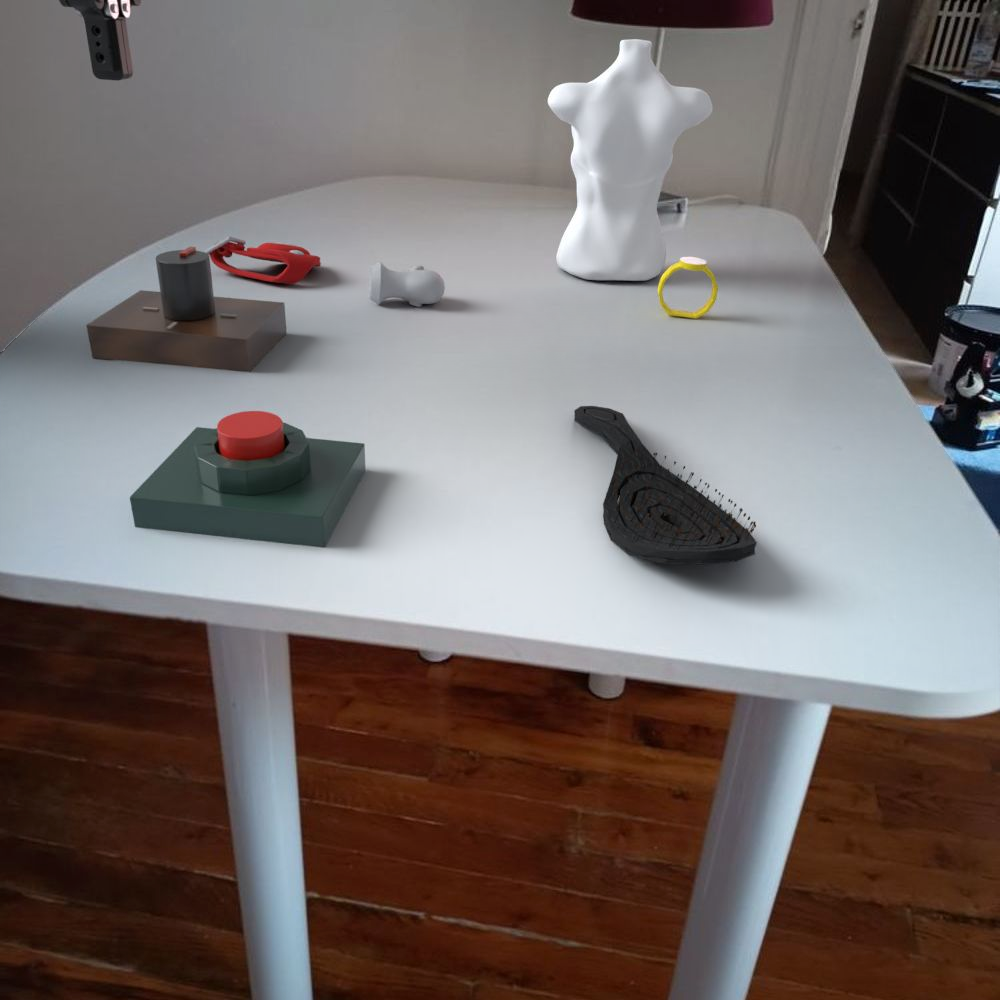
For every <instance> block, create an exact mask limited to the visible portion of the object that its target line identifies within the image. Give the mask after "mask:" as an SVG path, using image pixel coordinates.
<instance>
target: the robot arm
mask: <svg viewBox="0 0 1000 1000" xmlns="http://www.w3.org/2000/svg"><path fill="white" fill-rule="evenodd" d="M58 1H59V3H60V5H61V6H62V7H64V8H72V9H74V10H75V13H76V15H77V16H78V17H81V18H83V20H84V21H83V22H84V27H85V34H86V39H87V45H88V53H89V58H90V64H91V70H92V74H93V76H94V77H95V78H96V79H98V80H104V81H105V80H106V81H122V80H123V81H124V80H129V79H131V78H132V77H133V75H134V69H133V61H132V54H131V48H130V47H131V46H130V41H129V40H130V39H129V33H128V27H127V21H126V19H128V18H130V16H131V12H132V11H131V10H132V9H131V8H132V7H140V6H141V3H142V0H58Z"/></svg>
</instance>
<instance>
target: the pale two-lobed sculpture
mask: <svg viewBox="0 0 1000 1000" xmlns="http://www.w3.org/2000/svg"><path fill="white" fill-rule="evenodd" d="M368 279H369V280H368V296H369V297H368V298H369V300H371V301H372V302H374V303H375V304H376V305H380V304H381V303H383V301H385V300H387V299H391V298H395V299H401V300H403V301H406V302H408V303H409V305H411V306H414V307H417V308H421V307H422V305H433V304H435V303H438V302H439V301H440V300H441V299H442V298H443V296H444V294H445V290H446V286H445V285H446V284H445V280H444V278H443V277H442V275H441V274H440V273H438V272H437V271H434V270H430V269H425V267H424V265H413V266H411V267H410V268H407V269H403V270H400V271H398V270H392V269H389V268H388V267H386V266H385V264H384V263H383V262H382V261H379V262H377V263H374V264H373V265H371V266H370V270H369V277H368Z"/></svg>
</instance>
